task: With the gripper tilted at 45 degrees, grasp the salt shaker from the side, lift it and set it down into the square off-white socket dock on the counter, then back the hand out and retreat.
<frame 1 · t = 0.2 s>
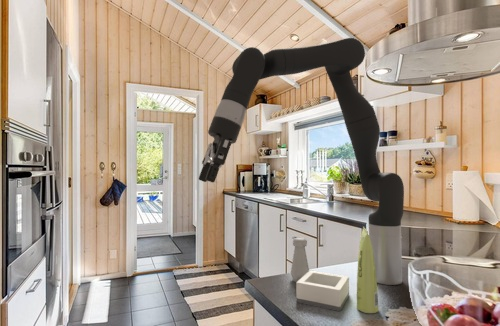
hand: (205, 181, 75), 31 cm above the countertop, tool tilted 20°, fingers open, 8 cm apart
socket dock: (323, 298, 80), on the countertop
tube: (367, 310, 74), on the countertop
salt shaker: (300, 281, 94), on the countertop
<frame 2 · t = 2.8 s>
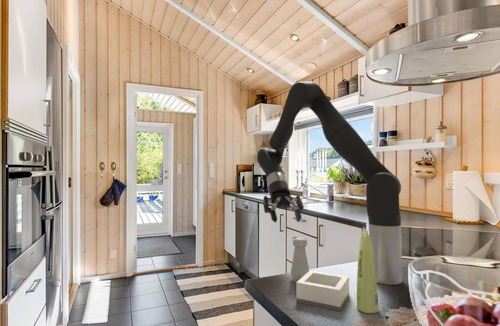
hand: (287, 220, 106), 17 cm above the countertop, tool tilted 45°, fingers open, 8 cm apart
nothing on the countertop moved.
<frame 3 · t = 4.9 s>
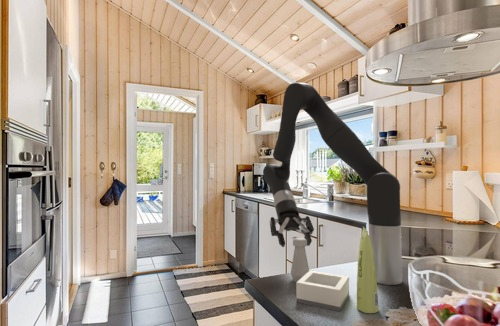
hand: (296, 245, 97), 10 cm above the countertop, tool tilted 45°, fingers open, 8 cm apart
nothing on the countertop moved.
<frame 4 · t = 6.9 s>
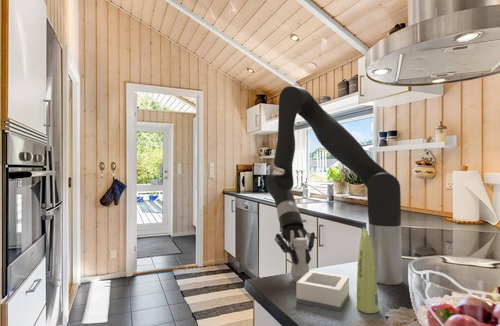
hand: (302, 262, 92), 6 cm above the countertop, tool tilted 45°, fingers closed on salt shaker, 3 cm apart
salt shaker: (300, 281, 94), on the countertop, touching gripper
everything else where it was.
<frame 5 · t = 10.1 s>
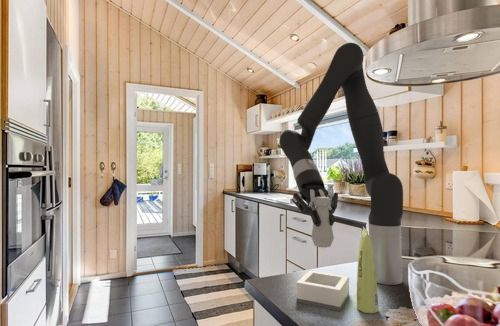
hand: (325, 224, 79), 20 cm above the countertop, tool tilted 45°, fingers closed on salt shaker, 3 cm apart
salt shaker: (322, 246, 81), point 14 cm above the countertop, touching gripper
everything else where it was.
when the fingers open (8 cm above the countertop, at t = 13.3 s): salt shaker moves 1 cm, resting on socket dock.
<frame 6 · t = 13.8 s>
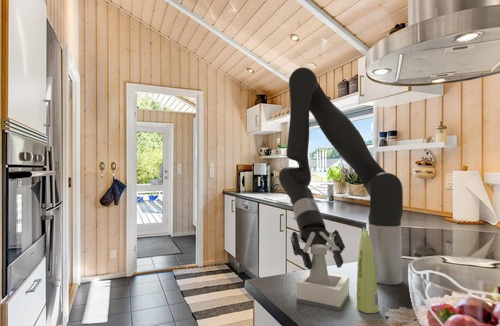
hand: (325, 267, 79), 9 cm above the countertop, tool tilted 45°, fingers open, 8 cm apart
salt shaker: (319, 295, 81), point 1 cm above the countertop, touching socket dock
everything else where it was.
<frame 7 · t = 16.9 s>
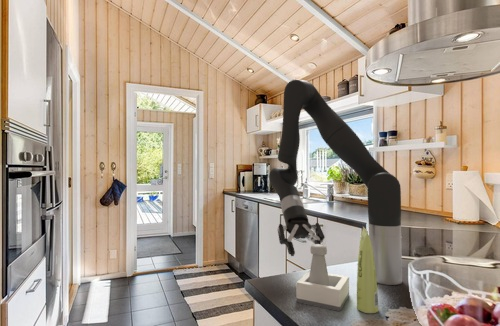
hand: (306, 254, 92), 9 cm above the countertop, tool tilted 45°, fingers open, 8 cm apart
nothing on the countertop moved.
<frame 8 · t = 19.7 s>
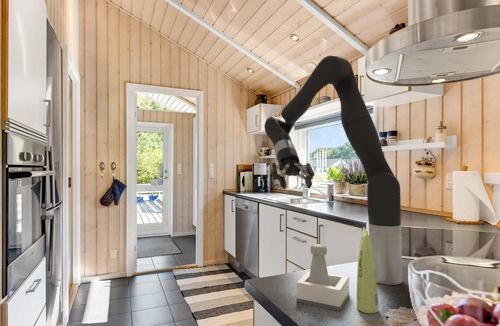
hand: (297, 187, 99), 29 cm above the countertop, tool tilted 45°, fingers open, 8 cm apart
nothing on the countertop moved.
at the end: salt shaker 1.2 cm off-centre on the socket dock, point 0.8 cm above the socket dock's base; salt shaker tilted 0°; the gripper is holding nothing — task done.
